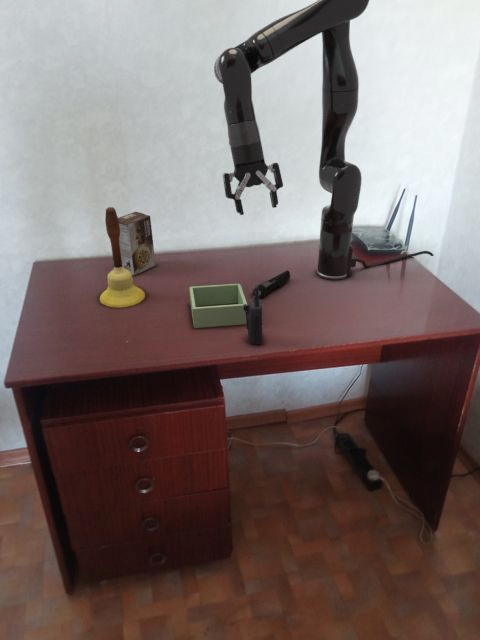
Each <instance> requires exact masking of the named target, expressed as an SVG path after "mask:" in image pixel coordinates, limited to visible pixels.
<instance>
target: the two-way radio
mask: <svg viewBox="0 0 480 640" xmlns="http://www.w3.org/2000/svg"><path fill="white" fill-rule="evenodd" d="M254 289H255V296H254V297H253V300H251V301H249V303H248V304H247V305H246V304H244V305H243V308H244V311H245V313H246V324H245V327H246V329H247V338H248V339H247V340H248V342H249V344H252V345H260V344H261V343H262V341H263V303H262V301H261V300H260V299H259V287H258V285H256V286H255V287H254Z"/></svg>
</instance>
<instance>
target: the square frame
mask: <svg viewBox="0 0 480 640" xmlns="http://www.w3.org/2000/svg"><path fill="white" fill-rule="evenodd" d="M188 288H189V302H190V303H189V305H190V310H191V317H192V325H193V329H201V328H213V327H228V326H239V325H246V313H245V311H244V308H243V305H244V304H246V305H248V302H247V300H246V297H245V294H244V291H243V288H242V285H241V283H227V284H210V285H196V286H189V287H188Z"/></svg>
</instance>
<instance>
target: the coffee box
mask: <svg viewBox="0 0 480 640" xmlns="http://www.w3.org/2000/svg"><path fill="white" fill-rule="evenodd" d="M118 220H119V226H120V236H119V244H120V252H121V259H122V266H123V268H124V269H126V270H128V271H130V272H131V274H132V276H136V275H139V274H141V273H142V272H145V271H147V270H149V269H151V268H153V267H155V266H156V257H155V248H154V240H153V230H152V220H151V215H148V214H145V213H143V212H141V211H140V212H139V211H133V212H130V213H127V214H125V215H122V216H119V217H118Z"/></svg>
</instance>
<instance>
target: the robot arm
mask: <svg viewBox="0 0 480 640" xmlns="http://www.w3.org/2000/svg"><path fill="white" fill-rule="evenodd" d="M369 3H370V0H317V1H314V2H312V3H311V4H309V5H307V6H305V7H303V8H301V9H299V10H297V11H294V12H291V13H289V14H286V15H285V16H282V17H279V18H278V19H275V20H273V21H271V22H270V23H269V24H267V25H265V26H264V27H262V28H260V29H259V30H257V31H256V32H254V33H252V35H251V36H250V37H248V38H247V39H246V40H244V41H243V42H241V43H239V44H238V45H236V46H234V47H229V48H226V49H224V51H223V52H221V54H220V55H219V56H218V57H217V58H216V60H215V62H214V64H213V73H214V77H215V79H216V80H217V81H218V83H219V84H221V85H222V87H223V93H224V101H223V112H224V116H225V122H226V128H227V137H228V145H229V147H230V152H231V157H232V161H233V169H234V170H233V172H223V173H222V181H223V187H224V195H225V198H227V199H228V200H229V199H230V200H233V201H234V202H233V203H234V206H235V211H236V213H238V214H239V216H243V215H244V214H245V213H244V208H243V203H242V199H241V196H242V194H243V192H244V190H245V188H252V187H254V186H261V185H264V186H265V187H266V189H268V191H269V192H268V193H269V198H270V203H271V208H274V209H276V208H277V207H278V206H277V205H279V198H278V190H279V189H281V188H283V187H284V183H283V178H282V174H281V169H280V165H279V163H278V162H272V163H270V164H267V163H266V161H265V155H264V150H263V143H262V139H261V133H260V129H259V125H258V122H257V116H256V111H255V105H254V102H253V101H254V100H253V85H252V75H253V73H255V72H256V71H258V70H259V69H260V68H262V67H265V66H267V65H269V64H271V63H273V62H274V61H276V60H278V59H279V58H281V57H282V56H284V55H286V54H287V53H288V52H291V50H293V49H296V47H299V46H300V45H302V44H304V43H305V42H307V41H308V40H310V39H313V38H314V37H315V36H318V35H319V34H321V39H322V62H321V63H322V80H321V81H322V83H321V107H322V108H321V109H322V110H321V113H322V114H321V115H322V116H321V117H322V118H321V120H322V121H321V147H320V157H319V167H318V180H319V184H320V187H321V188H322V189H323V190H324V191H326V192H328V193H329V194H331V198H330V204H327V205H325V206H323V207H322V209H321V214H320V228H319V229H320V231H319V242H318V243H319V244H318V257H317V268H316V274H317V275H318V276H319V277H321V278H322V279H326V280H330V281H331V280H332V281H337V280H339V281H340V280H343V279H344V280H345V279H346V278H350V277H351V269H352V268H356V267H357V262H358V263H361V264H362V265H363V267H364V268H366V269H367V268H369V269H370V268H373V267H381V266H382V265H386V264H389V263H393V262H396V261H400V260H403V259H407V258H412V257H416V256H417V257H418V256H421V255H429V256H431V257H434V253H432V252H431V251H429V250H421V251H418V252H414V253H410V254H405V255H401V256H398V257H395V258H394V257H393V258H390V259H387V260H384V261H383V260H382V261H380V262H378V263H377V262H376V263H374V264H367V263H366V261H365V260H363V259H361V258H357V257H356V256H355V254H354V253H353V252H354V246H353V245H352V237H353V229H354V228H353V226H354V219H355V214H356V212H357V210H358V208H359V207H358V206H359V203H360V202H359V201H360V195H361V191H362V190H361V188H362V179H363V178H362V172H361V169H360V167H358V166H357V165H356V164H354V163H351V162H349V161H347V160H346V139H347V135H348V132H349V130H350V128H351V126H352V124H353V121H354V119H355V117H356V115H357V112H358V107H359V89H360V87H359V86H360V84H359V83H360V81H359V80H360V79H359V74H358V70H357V69H358V68H357V66H356V61H355V58H354V56H353V52H352V48H351V40H350V38H351V37H350V33H351V32H350V31H351V29H350V28H351V27H350V26H351V21H353V20H355V19H357V18H359V17H361V15H363V13H364V12H365V11H366V9H367V7H368V6H369ZM268 171H269V172H270V173H272V174H273V178H274V183H275V184H273V183H272V181H270V179H268V177H266V176H267V173H268ZM234 178H235V179H236V180H237V181H238V182H237V183H238V184H237V186H236V188H235V191H234V193H233V191H232V184H231V183H232V182H233V179H234Z"/></svg>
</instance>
